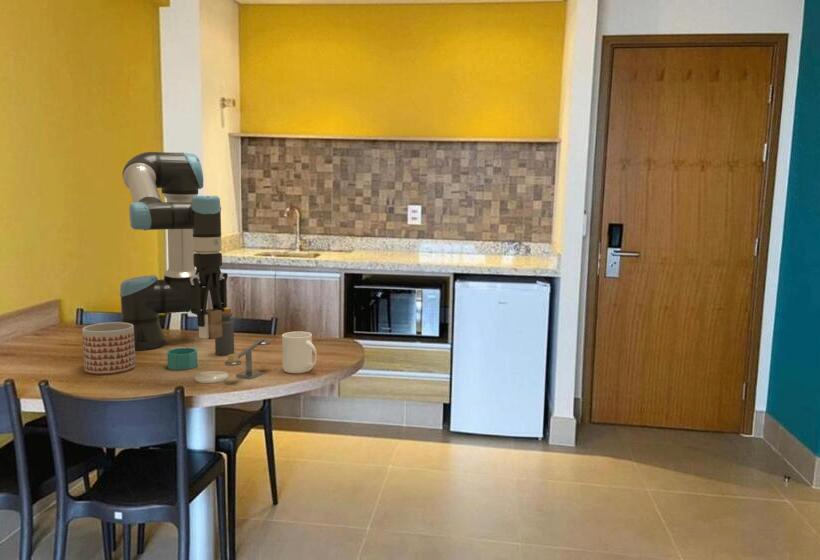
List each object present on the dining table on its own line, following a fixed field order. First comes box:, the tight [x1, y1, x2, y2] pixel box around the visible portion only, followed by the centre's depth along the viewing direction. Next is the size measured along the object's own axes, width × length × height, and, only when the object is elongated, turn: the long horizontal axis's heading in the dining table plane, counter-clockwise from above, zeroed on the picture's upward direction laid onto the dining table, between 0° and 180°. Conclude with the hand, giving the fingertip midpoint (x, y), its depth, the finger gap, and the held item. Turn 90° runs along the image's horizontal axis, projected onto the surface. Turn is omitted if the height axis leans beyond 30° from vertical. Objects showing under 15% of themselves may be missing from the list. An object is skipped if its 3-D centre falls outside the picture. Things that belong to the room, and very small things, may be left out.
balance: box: [224, 338, 272, 380], centre depth 188 cm, size 5×18×9 cm, turn 156°
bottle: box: [214, 306, 235, 357], centre depth 212 cm, size 6×6×15 cm
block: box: [201, 308, 222, 340], centre depth 183 cm, size 4×4×8 cm
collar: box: [166, 347, 199, 371], centre depth 198 cm, size 8×8×5 cm
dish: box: [194, 370, 229, 384], centre depth 185 cm, size 9×9×1 cm
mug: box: [281, 331, 318, 374], centre depth 193 cm, size 9×12×11 cm
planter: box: [81, 321, 136, 376], centre depth 193 cm, size 14×14×13 cm
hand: (210, 336), depth 183 cm, fingers closed on block, 4 cm apart
